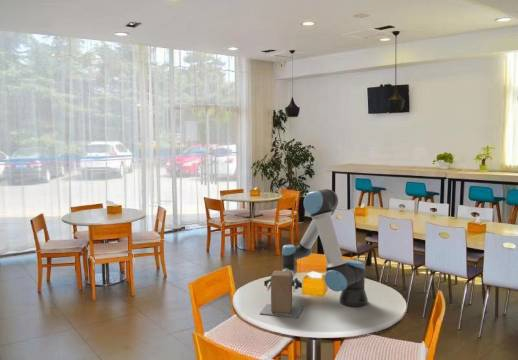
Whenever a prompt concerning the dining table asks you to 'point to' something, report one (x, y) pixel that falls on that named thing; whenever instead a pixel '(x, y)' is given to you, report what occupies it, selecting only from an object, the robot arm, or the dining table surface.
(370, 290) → the dining table surface
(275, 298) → the block
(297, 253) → the robot arm
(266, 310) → the letter board
